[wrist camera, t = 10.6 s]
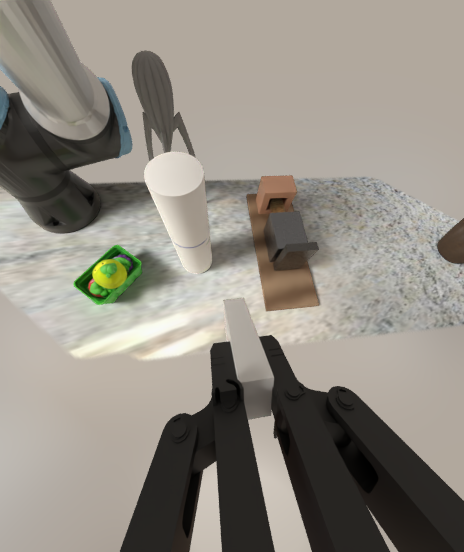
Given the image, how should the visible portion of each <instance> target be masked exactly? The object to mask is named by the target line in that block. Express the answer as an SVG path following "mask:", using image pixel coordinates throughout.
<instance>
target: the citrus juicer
mask: <svg viewBox="0 0 464 552" xmlns="http://www.w3.org/2000/svg"><path fill="white" fill-rule="evenodd" d="M132 76H133V81H134V86H135V89H136V92H137V95H138V97H139V100H140V102H141V105H142V107H143V109H144V112H145V113H144V112H143V121H144V130H145V137H146V143H147V150H148V155H149V161H151V160H152V159H153V158H154V157H153V150H152V138H151V128H152V129H154V131H155V133H156V134H157V136H158V138H159V139H160V141H161V142H162V145H163V150H164V153H167V152H170V150H171V143H172V135H173V132H174V131H175V129H176V128H178V130H179V132H180V134H181V135H182V137H183V140H184V142H185V144H186V146H187V149H188V151H189V154H190V155H192V156H193V157H195V154H194V151H193V148H192V144H191V142H190V139H189V136H188V133H187V131H186V128H185V125H184V123H183V120H182V117H181V115H180V113H179V112H178V113H177V114H176V115H175V117H174V105H173V93H172V86H171V82H170V79H169V75H168V72H167V70H166V68H165V66H164V63H163V62H162V60H161V59H160V57H159V56H158V55H156V54H155V53H153V52H151V51H141V52H139V53H137V54H136V55H135V57H134V59H133V62H132Z"/></svg>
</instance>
